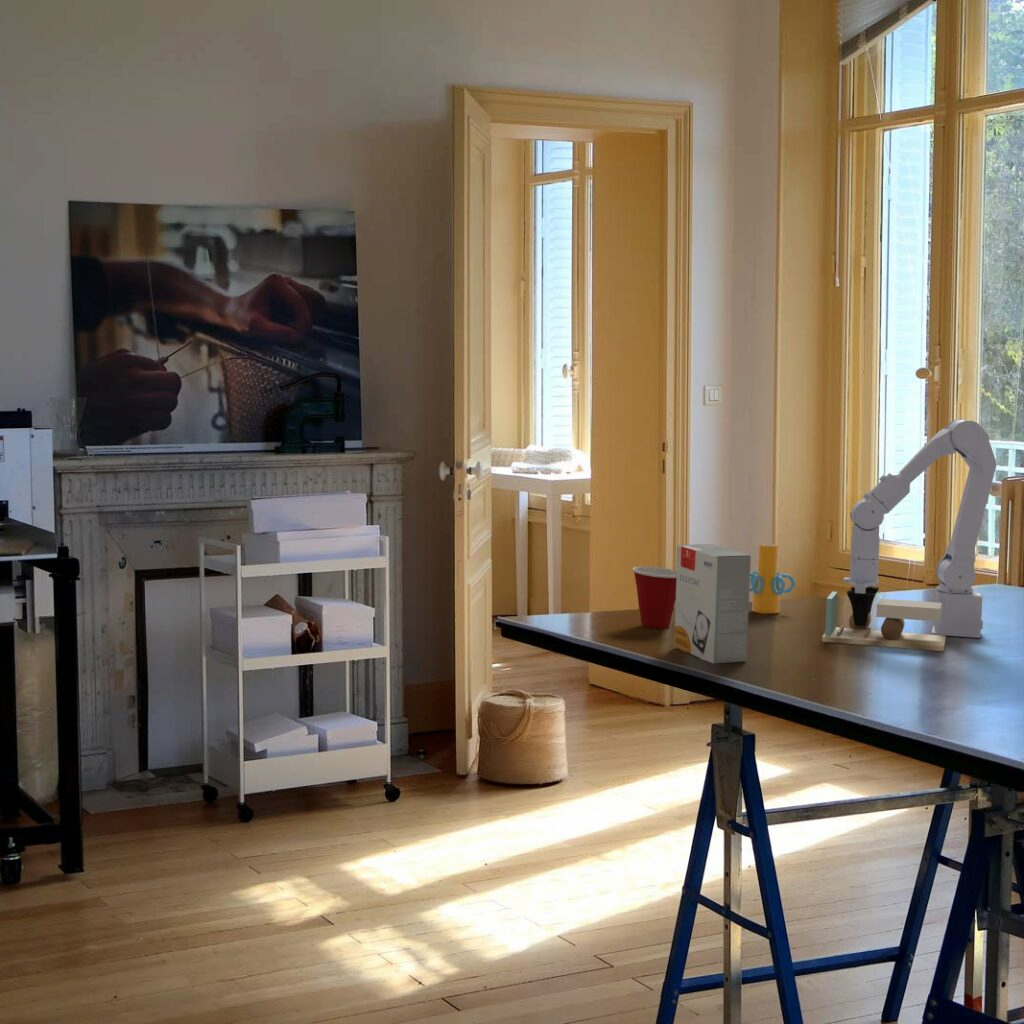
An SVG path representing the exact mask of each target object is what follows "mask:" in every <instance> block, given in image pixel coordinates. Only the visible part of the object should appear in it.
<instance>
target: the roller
mask: <svg viewBox="0 0 1024 1024" xmlns="http://www.w3.org/2000/svg"><path fill="white" fill-rule="evenodd" d="M848 619H849V620H848V625H849V628H851V629H864V630H867V629H868V628H869V625H870V624H871V621H872V615H871V612H870V613H868V618H867V622H866V625H865V626H856V625H855V623H854V618H853V613H852V614H851V615H850V617H849V618H848Z"/></svg>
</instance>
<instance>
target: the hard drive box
mask: <svg viewBox="0 0 1024 1024" xmlns="http://www.w3.org/2000/svg"><path fill="white" fill-rule="evenodd" d="M751 559H752V557H751V555H750V554H747V553H743V552H740V551H738V550H737V551H736V550H733V549H729V548H726V547H722V546H718V545H716V544H710V543H707V544H706V543H703V544H677V545H676V571H677V573H676V600H675V605H674V610H675V611H674V633H673V634H674V636H673V638H674V640H673V641H674V642H673V646H674V648H676V649H678V650H680V651H681V652H683V653H687V654H689V655H692V656H695V657H697V658H699V659H700V660H702V661H706V662H708V663H710V664H725V663H741V662H742V663H743V662H747V658H748V656H747V655H748V635H749V634H748V632H749V610H750V608H749V607H750V592H749V588H751V583H750V573H751Z"/></svg>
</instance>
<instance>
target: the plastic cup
mask: <svg viewBox="0 0 1024 1024" xmlns="http://www.w3.org/2000/svg"><path fill="white" fill-rule="evenodd" d="M632 571H633V573H634V574H633V575H634V579H635V586H636V592H637V602H638V611H639V615H640V623H641V626H642V627H643V628H646V629H657V628H664V629H668V628H670V625H671V622H672V617H673V612H674V610H675V603H676V573H677V569H676V570H675V569H670V568H665V567H656V566H646V565H645V566H634V567H632ZM667 627H668V628H667ZM657 630H658V629H657Z"/></svg>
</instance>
